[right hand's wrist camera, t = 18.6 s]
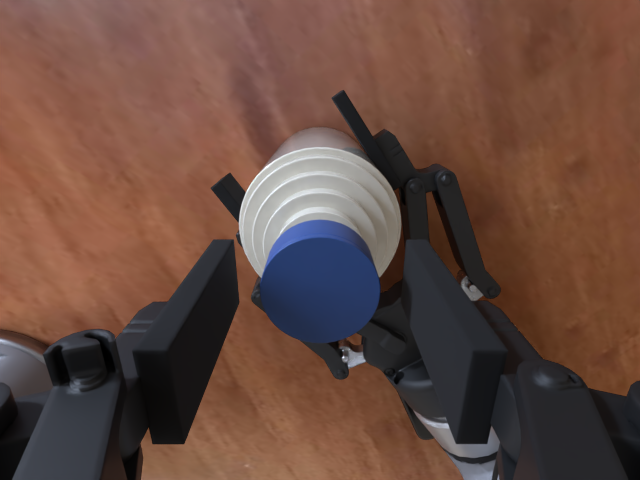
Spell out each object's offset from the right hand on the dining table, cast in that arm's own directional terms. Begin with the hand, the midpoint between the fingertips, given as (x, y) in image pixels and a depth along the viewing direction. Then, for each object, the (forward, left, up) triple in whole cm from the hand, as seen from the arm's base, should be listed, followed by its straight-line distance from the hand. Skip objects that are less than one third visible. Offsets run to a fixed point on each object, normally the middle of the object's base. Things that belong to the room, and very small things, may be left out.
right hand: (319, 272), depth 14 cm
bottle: (0, 0, -17) cm, 17 cm away
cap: (0, 0, +1) cm, 1 cm away
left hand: (-1, -5, -11) cm, 12 cm away
